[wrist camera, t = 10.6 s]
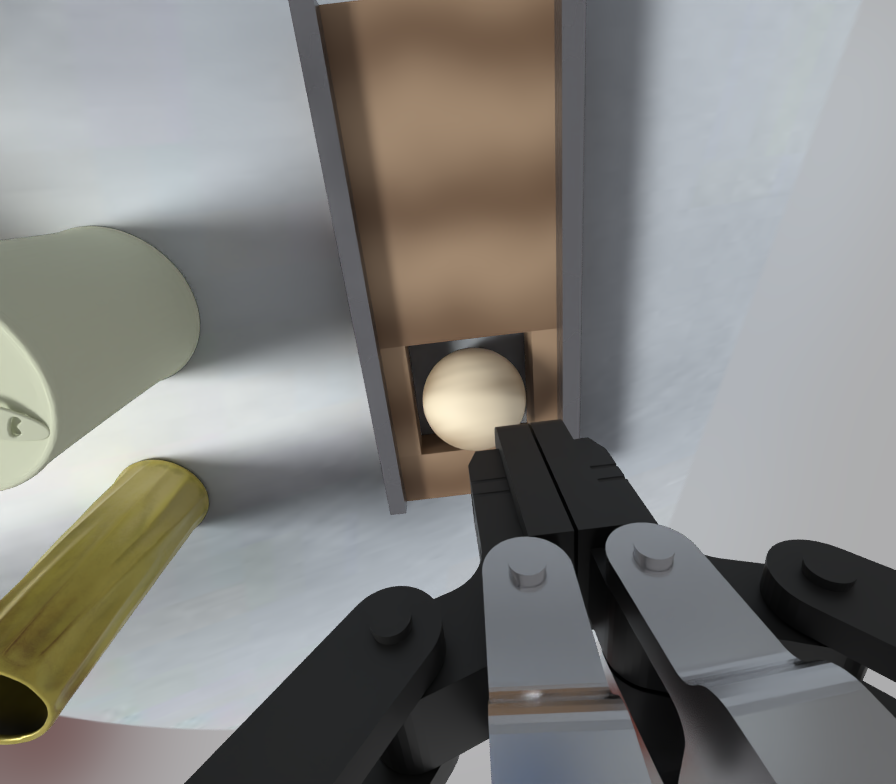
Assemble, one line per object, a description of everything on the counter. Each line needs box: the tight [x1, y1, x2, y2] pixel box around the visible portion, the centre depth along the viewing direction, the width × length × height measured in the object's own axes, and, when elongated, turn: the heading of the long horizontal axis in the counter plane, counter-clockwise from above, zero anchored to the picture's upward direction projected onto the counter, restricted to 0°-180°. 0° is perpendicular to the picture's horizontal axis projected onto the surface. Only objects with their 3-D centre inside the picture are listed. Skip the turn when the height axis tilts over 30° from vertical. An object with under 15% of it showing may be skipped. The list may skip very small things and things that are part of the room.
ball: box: [423, 347, 526, 451], centre depth 27 cm, size 6×6×6 cm
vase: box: [0, 460, 209, 745], centre depth 25 cm, size 6×6×14 cm
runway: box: [288, 0, 586, 515], centre depth 25 cm, size 26×12×4 cm, turn 6°
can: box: [0, 226, 200, 491], centre depth 21 cm, size 9×9×12 cm
